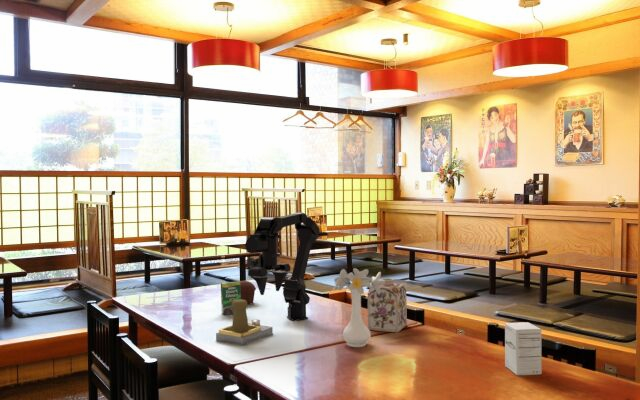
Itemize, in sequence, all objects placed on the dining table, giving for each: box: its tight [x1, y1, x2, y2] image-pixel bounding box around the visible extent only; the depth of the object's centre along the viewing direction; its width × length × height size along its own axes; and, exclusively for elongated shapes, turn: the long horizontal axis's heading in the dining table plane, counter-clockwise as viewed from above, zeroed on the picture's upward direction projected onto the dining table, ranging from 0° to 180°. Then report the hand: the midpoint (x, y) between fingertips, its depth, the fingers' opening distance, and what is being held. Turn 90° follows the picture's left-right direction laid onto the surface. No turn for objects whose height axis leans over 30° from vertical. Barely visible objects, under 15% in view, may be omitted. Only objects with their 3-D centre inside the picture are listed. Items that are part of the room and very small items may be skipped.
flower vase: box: [331, 267, 385, 348], centre depth 174 cm, size 13×18×25 cm
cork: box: [231, 299, 249, 333], centre depth 182 cm, size 6×6×11 cm
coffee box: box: [220, 280, 241, 316], centre depth 220 cm, size 8×3×13 cm, turn 113°
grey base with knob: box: [215, 319, 274, 346], centre depth 184 cm, size 16×12×4 cm
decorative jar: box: [367, 277, 408, 333], centre depth 194 cm, size 12×12×18 cm
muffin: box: [238, 280, 257, 306], centre depth 240 cm, size 12×11×10 cm
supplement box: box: [504, 321, 543, 376], centre depth 146 cm, size 7×7×13 cm
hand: (269, 292), depth 196 cm, fingers open, 9 cm apart
